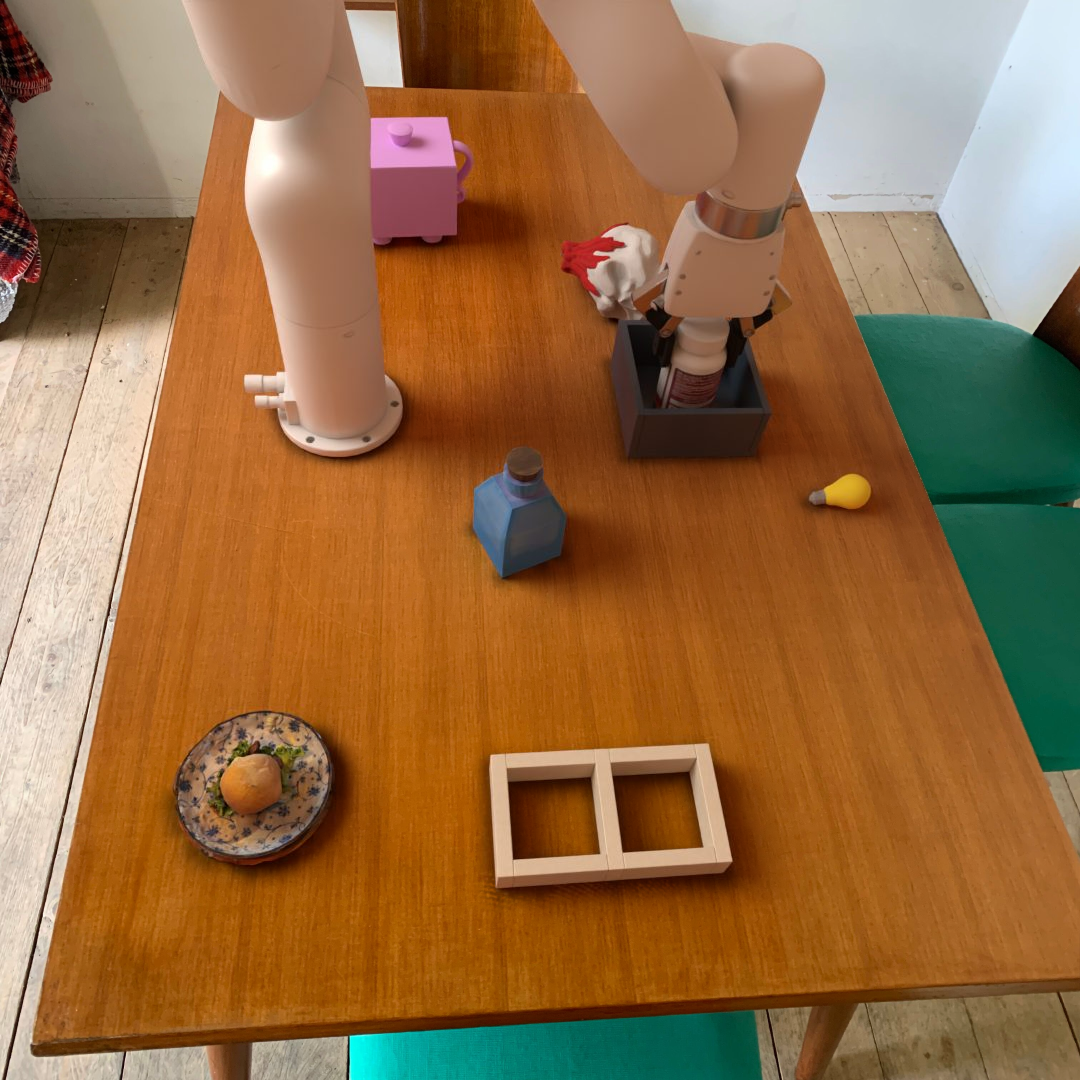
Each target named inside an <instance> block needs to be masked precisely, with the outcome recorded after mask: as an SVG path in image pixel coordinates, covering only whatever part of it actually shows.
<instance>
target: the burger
mask: <svg viewBox="0 0 1080 1080" xmlns="http://www.w3.org/2000/svg"><path fill="white" fill-rule="evenodd" d="M335 786H336V775H335V765H334V762H333V759H332V756H331V753H330V751H329V750H328V748H327V746H326V744H325V743H324V740H323V738H322V737H321V735H320V733H318V732H317V731H316V730H315V729H314V727H313V726H312V725H311V724H310V723H308V722H307V721H306V720H305V719H303V718H301V717H300V716H297V715H294V714H292V713H288V712H282V711H275V710H267V709H266V710H256V711H250V712H245V713H242V714H238V715H235V716H233V717H231V718H227V719H225V720H223V721H221V722H219V723H217V724H216V725H215V726H213V727H212V729H210V730H209V731H208V733H206V734H205V735H204V736H203V737H202V738H201V739H200V740H199V741H198V742H197V743H196V744H195V745H193V746H192V748H190V749H189V750H188V753H187V755H186V756H185V758H184V759H183V760H182V762H180V763H179V765H178V767H177V770H176V772H175V775H174V778H173V784H172V791H173V794H174V797H175V805H174V809H175V812H176V813H177V815H178V818H177V820H178V824H179V827H180V829H181V831H182V832H183V833H184V835H185V836H186V837H187V839H188V840H189V841H190V842H191V844H192V845H193V846H194V848H196V849H197V850H198V851H200V852H202V853H203V854H204V855H206V856H207V857H211V858H213V859H216V860H218V861H219V862H227V863H232V864H234V865H237V866H255V865H258V864H262V863H263V862H272V861H275V860H277V859H280V858H283V857H286V856H287V855H288V854H290V853H292V852H293V851H295V850H296V849H298V848H300V846H302V845H303V844H305V842H306V841H308V840H309V839H310V838H311V837H312V836H313V834H315V832H316V831H317V829H319V827H320V826H321V825H322V823H323V822H324V819H325V818H326V815H327V814H328V812H329V810H330V807H331V804H332V801H333V798H334V794H335Z"/></svg>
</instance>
